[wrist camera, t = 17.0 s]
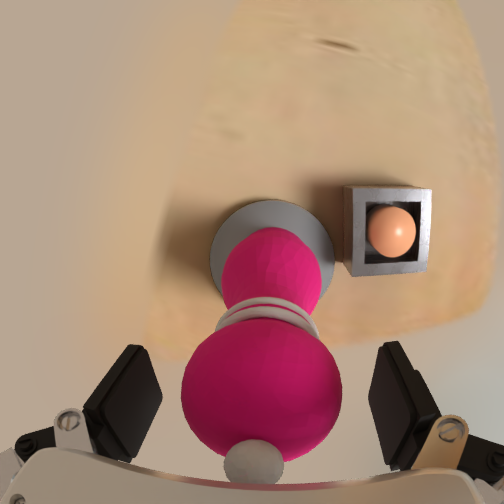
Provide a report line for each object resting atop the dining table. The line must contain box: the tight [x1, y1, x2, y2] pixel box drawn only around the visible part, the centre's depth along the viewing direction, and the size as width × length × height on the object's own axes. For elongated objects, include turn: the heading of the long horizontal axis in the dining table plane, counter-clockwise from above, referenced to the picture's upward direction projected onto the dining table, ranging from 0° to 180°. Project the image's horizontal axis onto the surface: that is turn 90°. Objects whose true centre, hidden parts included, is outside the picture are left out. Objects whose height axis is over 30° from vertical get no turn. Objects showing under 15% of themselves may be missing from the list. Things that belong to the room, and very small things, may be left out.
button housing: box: [343, 185, 431, 277], centre depth 22 cm, size 7×7×4 cm
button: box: [365, 204, 416, 257], centre depth 22 cm, size 4×4×2 cm
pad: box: [210, 200, 335, 300], centre depth 25 cm, size 11×11×1 cm
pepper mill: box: [181, 227, 342, 484], centre depth 15 cm, size 7×7×20 cm
